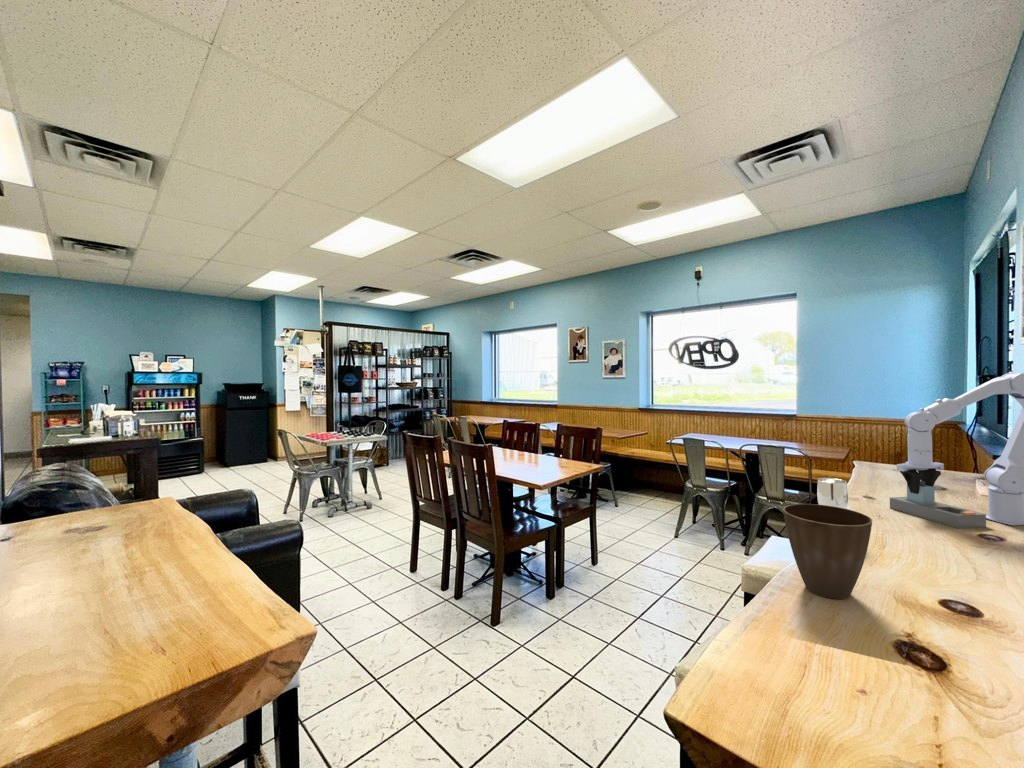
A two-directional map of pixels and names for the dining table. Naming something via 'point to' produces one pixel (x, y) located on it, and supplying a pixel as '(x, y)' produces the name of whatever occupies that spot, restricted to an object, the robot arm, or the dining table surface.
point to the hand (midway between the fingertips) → (920, 492)
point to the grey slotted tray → (940, 513)
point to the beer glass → (832, 492)
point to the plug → (922, 495)
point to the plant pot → (828, 546)
